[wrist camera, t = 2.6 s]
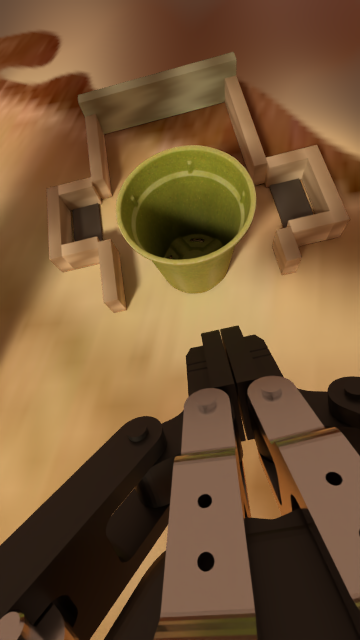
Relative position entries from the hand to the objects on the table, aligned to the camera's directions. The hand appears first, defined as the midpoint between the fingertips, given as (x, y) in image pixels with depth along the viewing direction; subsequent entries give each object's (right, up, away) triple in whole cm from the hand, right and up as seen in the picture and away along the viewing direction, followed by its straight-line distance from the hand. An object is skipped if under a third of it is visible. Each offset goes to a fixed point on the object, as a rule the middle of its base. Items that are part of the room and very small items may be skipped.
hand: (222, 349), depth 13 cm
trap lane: (-2, +14, +19) cm, 24 cm away
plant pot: (0, +6, +17) cm, 18 cm away
